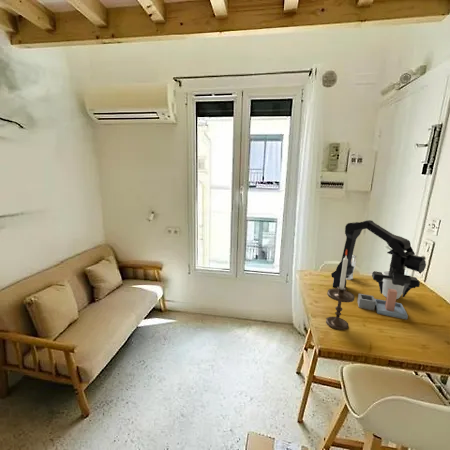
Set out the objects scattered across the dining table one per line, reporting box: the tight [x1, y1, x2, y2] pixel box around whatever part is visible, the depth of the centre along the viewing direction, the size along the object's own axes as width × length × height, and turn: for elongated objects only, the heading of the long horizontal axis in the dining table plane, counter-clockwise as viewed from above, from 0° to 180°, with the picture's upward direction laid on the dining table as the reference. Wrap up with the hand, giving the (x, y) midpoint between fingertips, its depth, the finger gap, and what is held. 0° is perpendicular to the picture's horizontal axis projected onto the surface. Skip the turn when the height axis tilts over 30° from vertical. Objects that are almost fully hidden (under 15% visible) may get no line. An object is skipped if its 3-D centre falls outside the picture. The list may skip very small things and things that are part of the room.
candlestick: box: [325, 249, 356, 331], centre depth 114 cm, size 11×11×35 cm
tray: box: [374, 298, 409, 320], centre depth 130 cm, size 12×12×2 cm
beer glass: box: [346, 254, 357, 281], centre depth 168 cm, size 7×7×15 cm
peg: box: [385, 289, 397, 312], centre depth 129 cm, size 3×3×10 cm
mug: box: [382, 270, 404, 300], centre depth 145 cm, size 15×11×13 cm
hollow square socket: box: [357, 293, 376, 311], centre depth 133 cm, size 7×7×5 cm
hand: (391, 295), depth 128 cm, fingers open, 9 cm apart
